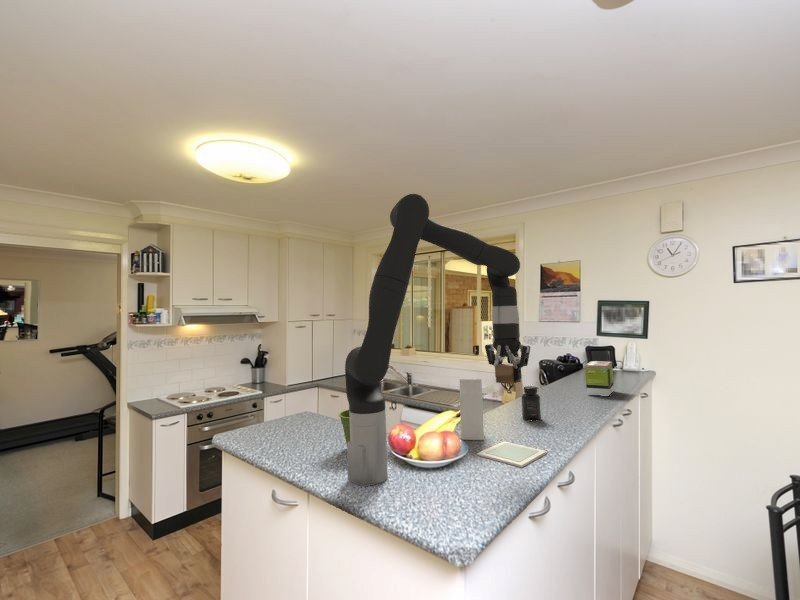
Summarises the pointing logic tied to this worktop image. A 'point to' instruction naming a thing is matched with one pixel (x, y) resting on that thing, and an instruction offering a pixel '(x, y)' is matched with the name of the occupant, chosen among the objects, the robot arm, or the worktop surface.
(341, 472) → the worktop surface
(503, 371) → the walnut block
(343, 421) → the plant pot
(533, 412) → the supplement bottle
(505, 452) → the coaster
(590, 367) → the tea box
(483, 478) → the worktop surface
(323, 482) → the worktop surface
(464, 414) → the milk carton
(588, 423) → the worktop surface
